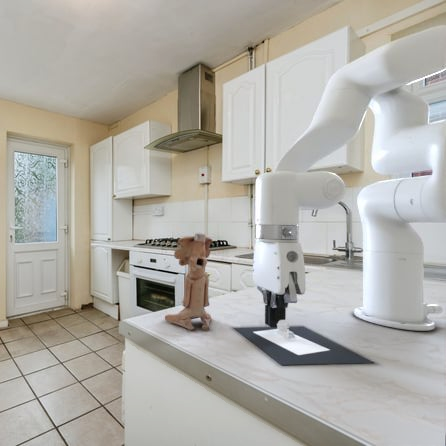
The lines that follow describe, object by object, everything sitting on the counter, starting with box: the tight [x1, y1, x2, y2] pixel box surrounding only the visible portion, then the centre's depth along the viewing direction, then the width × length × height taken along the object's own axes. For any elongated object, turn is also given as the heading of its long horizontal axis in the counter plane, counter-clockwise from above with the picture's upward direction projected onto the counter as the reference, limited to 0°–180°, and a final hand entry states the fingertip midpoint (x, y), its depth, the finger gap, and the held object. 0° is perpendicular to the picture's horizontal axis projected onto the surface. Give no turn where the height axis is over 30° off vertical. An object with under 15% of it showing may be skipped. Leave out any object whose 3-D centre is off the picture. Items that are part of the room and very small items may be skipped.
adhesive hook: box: [274, 319, 296, 340], centre depth 52 cm, size 3×3×3 cm
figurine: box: [164, 232, 213, 331], centre depth 60 cm, size 11×8×20 cm
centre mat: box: [233, 325, 375, 366], centre depth 50 cm, size 15×15×1 cm
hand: (275, 325), depth 55 cm, fingers closed
